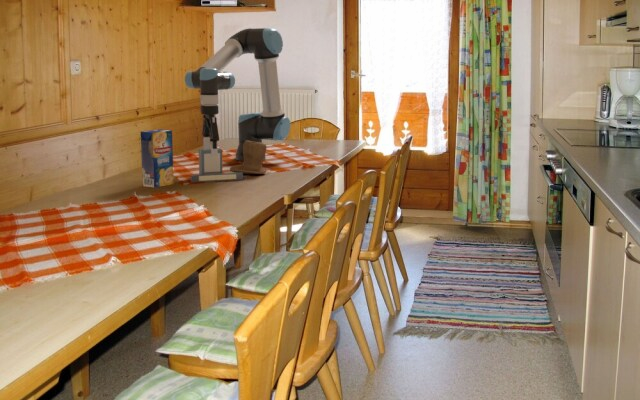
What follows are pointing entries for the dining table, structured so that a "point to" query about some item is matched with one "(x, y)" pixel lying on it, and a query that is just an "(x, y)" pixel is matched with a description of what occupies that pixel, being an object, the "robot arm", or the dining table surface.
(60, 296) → the dining table surface
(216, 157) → the slate carton
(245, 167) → the brown piece
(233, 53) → the robot arm
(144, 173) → the blue food box
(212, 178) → the rail
